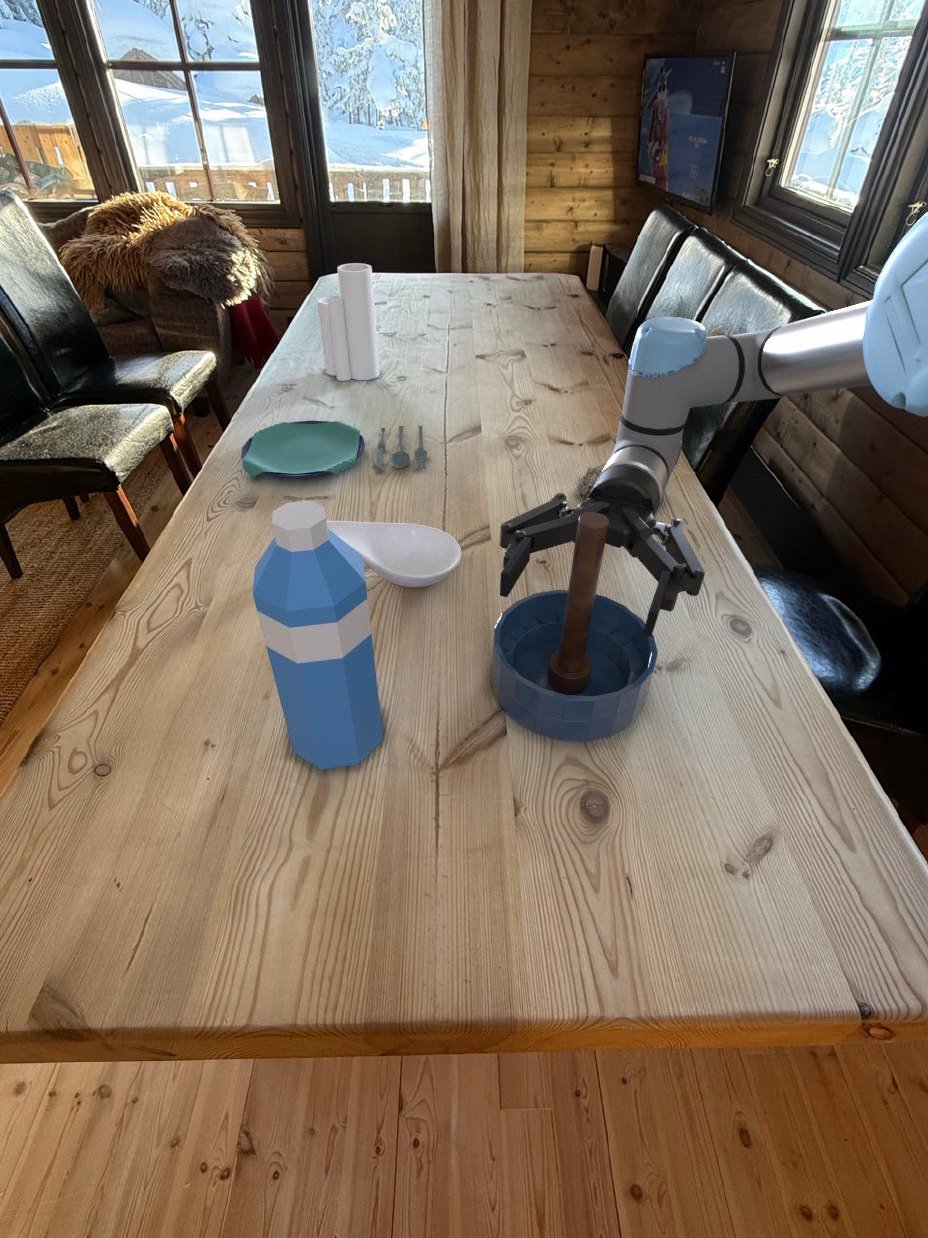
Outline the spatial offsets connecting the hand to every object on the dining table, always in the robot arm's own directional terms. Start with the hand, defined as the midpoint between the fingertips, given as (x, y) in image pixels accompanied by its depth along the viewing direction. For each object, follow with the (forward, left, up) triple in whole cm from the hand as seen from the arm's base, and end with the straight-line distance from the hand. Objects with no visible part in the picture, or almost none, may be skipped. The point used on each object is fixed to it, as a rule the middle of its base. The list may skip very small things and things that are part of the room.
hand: (574, 604), depth 59 cm
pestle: (+1, -3, -13) cm, 13 cm away
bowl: (+1, -3, -14) cm, 14 cm away
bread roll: (+17, -43, -14) cm, 48 cm away
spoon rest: (+31, -3, -14) cm, 34 cm away
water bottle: (+15, +17, -14) cm, 26 cm away
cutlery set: (+58, -22, -14) cm, 64 cm away
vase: (+83, -49, -14) cm, 97 cm away
